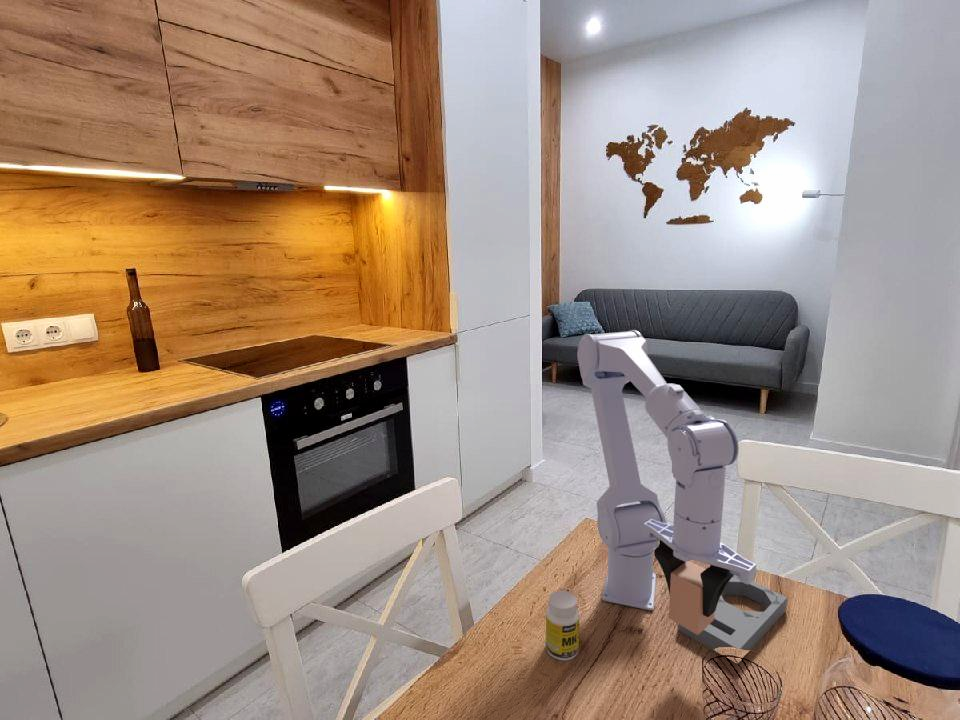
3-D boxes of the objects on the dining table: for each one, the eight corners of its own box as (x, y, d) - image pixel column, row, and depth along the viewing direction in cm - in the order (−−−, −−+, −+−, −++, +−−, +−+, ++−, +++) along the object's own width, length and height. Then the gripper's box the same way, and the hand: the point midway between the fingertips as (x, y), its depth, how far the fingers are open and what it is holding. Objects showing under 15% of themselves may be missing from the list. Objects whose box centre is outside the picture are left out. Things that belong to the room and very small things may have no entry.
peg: (668, 618, 71) (670, 572, 69) (685, 604, 74) (687, 560, 72) (697, 635, 68) (701, 588, 66) (713, 619, 70) (717, 574, 69)
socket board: (737, 665, 72) (739, 649, 71) (677, 629, 79) (678, 615, 78) (785, 611, 82) (787, 597, 81) (728, 583, 89) (729, 570, 88)
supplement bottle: (563, 667, 73) (563, 615, 71) (539, 648, 76) (538, 598, 74) (585, 649, 76) (586, 599, 74) (561, 632, 79) (561, 583, 77)
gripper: (631, 502, 70) (628, 590, 73) (740, 548, 59) (731, 649, 62) (660, 485, 74) (657, 569, 78) (767, 525, 63) (758, 621, 67)
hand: (692, 603), depth 70 cm, fingers closed on peg, 4 cm apart
